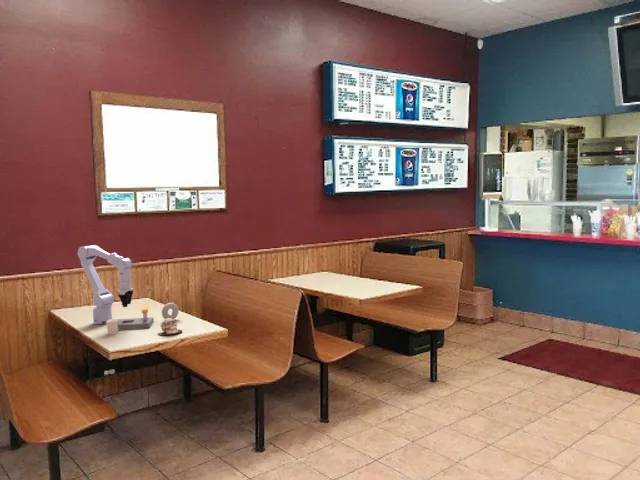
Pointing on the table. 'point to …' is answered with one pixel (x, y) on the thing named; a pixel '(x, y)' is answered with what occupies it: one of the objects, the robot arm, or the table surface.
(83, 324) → the table surface
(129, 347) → the table surface
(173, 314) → the donut
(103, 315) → the robot arm
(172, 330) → the skull
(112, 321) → the plug
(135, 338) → the table surface
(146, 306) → the orange paddle handle
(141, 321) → the socket block
